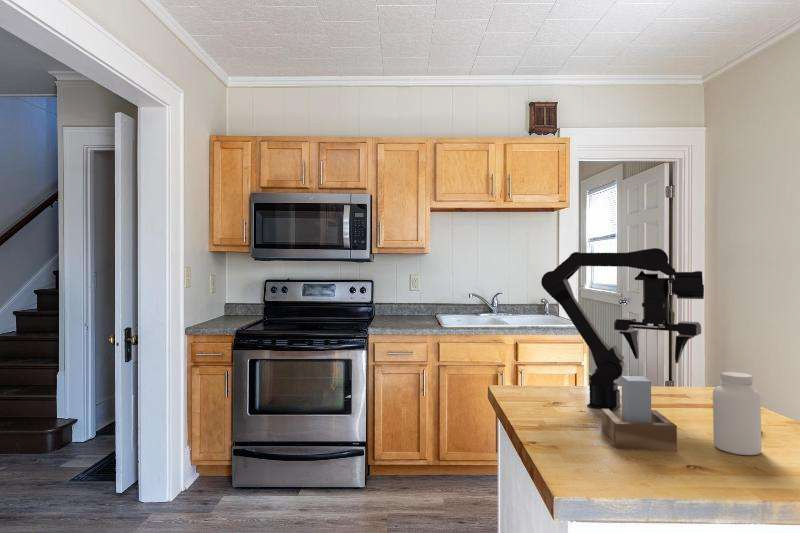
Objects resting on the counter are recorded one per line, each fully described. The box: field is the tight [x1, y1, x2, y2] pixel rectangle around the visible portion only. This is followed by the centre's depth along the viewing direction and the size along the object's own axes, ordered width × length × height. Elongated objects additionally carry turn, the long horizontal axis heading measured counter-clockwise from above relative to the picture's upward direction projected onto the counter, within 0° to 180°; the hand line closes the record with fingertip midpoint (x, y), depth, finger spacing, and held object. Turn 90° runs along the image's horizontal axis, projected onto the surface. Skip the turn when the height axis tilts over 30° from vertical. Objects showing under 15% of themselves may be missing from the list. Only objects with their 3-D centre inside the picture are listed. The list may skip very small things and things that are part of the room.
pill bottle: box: [712, 371, 762, 456], centre depth 99 cm, size 8×8×15 cm
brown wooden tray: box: [601, 409, 678, 452], centre depth 104 cm, size 11×12×5 cm
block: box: [621, 375, 652, 423], centre depth 105 cm, size 4×4×13 cm
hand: (656, 360), depth 124 cm, fingers open, 9 cm apart
